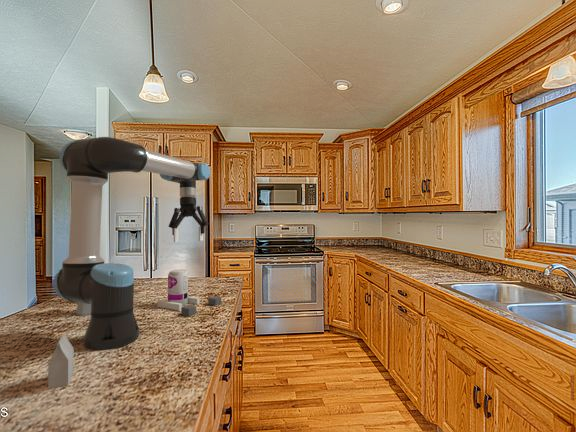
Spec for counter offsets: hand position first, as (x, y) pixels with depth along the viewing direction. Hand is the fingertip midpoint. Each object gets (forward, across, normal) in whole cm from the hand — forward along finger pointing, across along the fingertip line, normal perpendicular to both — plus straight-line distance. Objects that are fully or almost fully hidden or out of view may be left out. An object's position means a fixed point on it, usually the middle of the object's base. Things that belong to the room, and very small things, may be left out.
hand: (188, 241), depth 146 cm
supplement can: (+28, 0, +8) cm, 29 cm away
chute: (+28, -5, +9) cm, 30 cm away
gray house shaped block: (+34, -12, +70) cm, 78 cm away
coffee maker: (+28, +27, +28) cm, 48 cm away
